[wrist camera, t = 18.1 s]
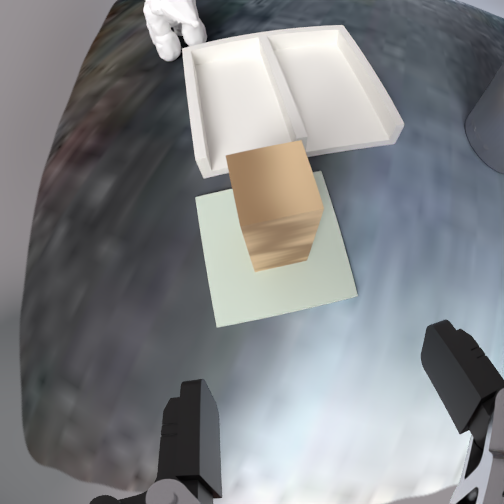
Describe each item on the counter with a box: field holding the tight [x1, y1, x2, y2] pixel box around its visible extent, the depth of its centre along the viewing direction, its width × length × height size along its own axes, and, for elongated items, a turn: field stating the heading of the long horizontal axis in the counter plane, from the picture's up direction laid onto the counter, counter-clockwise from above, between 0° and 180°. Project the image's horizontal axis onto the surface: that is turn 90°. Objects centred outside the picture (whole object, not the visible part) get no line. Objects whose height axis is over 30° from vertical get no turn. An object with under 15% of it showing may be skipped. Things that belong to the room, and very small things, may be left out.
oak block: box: [226, 140, 324, 272], centre depth 23 cm, size 4×4×11 cm
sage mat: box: [195, 171, 358, 327], centre depth 28 cm, size 12×12×1 cm
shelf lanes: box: [182, 25, 405, 178], centre depth 31 cm, size 20×17×4 cm
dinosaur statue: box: [143, 0, 207, 61], centre depth 33 cm, size 7×24×11 cm, turn 32°
